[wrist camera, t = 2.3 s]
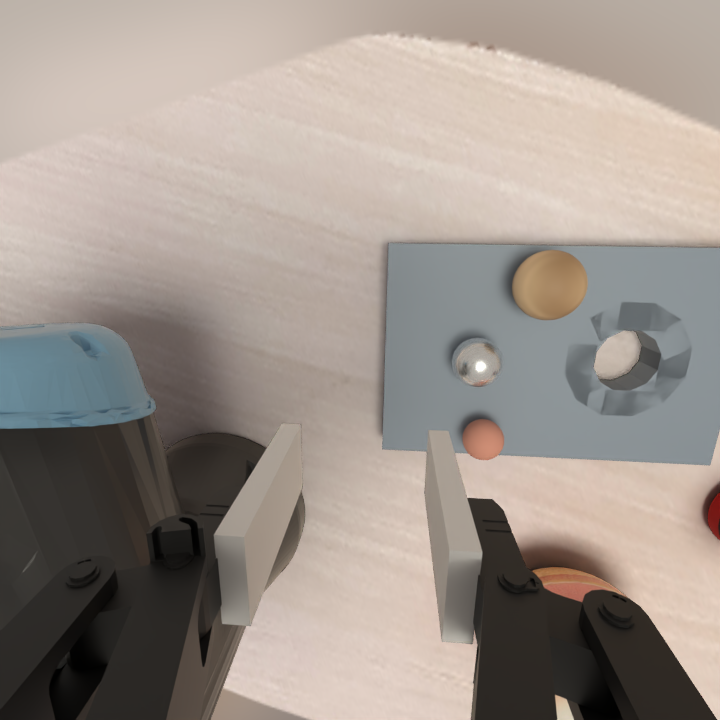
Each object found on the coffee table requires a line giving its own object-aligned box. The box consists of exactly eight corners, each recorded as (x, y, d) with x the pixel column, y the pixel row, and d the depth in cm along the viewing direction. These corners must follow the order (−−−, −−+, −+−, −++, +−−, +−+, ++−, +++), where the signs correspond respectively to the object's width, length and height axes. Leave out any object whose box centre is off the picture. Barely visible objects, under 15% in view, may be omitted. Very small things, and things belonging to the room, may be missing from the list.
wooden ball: (501, 313, 31) (518, 325, 26) (508, 248, 29) (527, 250, 25) (565, 314, 30) (594, 327, 26) (575, 249, 29) (607, 251, 25)
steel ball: (447, 377, 32) (453, 393, 29) (450, 332, 31) (457, 343, 28) (494, 379, 32) (506, 395, 29) (499, 333, 31) (512, 345, 28)
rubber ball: (458, 447, 34) (464, 466, 31) (461, 412, 33) (467, 428, 30) (496, 449, 34) (506, 468, 31) (500, 413, 33) (511, 430, 30)
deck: (383, 435, 37) (382, 449, 34) (388, 242, 32) (388, 243, 30) (688, 449, 35) (710, 465, 33) (738, 247, 31) (767, 248, 28)
